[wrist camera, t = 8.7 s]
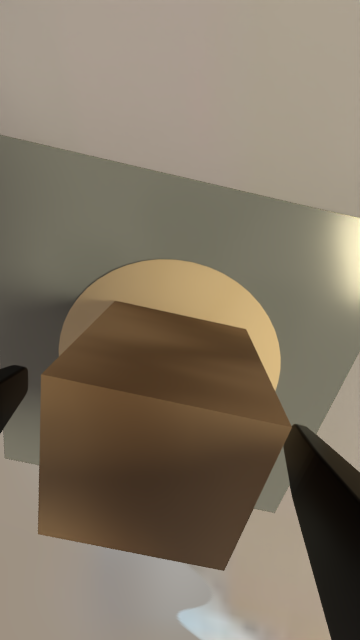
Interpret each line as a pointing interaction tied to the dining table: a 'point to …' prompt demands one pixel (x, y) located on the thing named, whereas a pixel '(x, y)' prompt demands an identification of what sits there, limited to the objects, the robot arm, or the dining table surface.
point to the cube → (157, 436)
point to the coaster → (171, 275)
